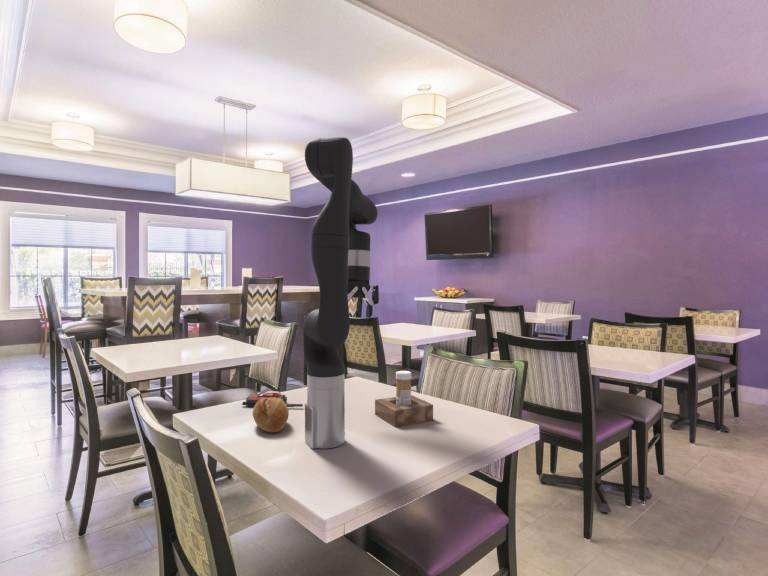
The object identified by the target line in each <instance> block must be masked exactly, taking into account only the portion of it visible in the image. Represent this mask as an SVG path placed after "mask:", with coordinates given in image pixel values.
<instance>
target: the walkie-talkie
mask: <svg viewBox="0 0 768 576" xmlns="http://www.w3.org/2000/svg"><path fill="white" fill-rule="evenodd" d="M266 397H268V399H269V398H272V397H274V398H280V399H282V400H283V401H284V402H285V404H286V406H287V408H295V407H303V405H304V404H303V403H287V402H288V397H287V396H286V395H285V394H282V393H281V392H280V391H278V390H277V391H276V390H275V391H270V390H269V391H266V392H264V393H261V392H260V391H258V392H257V393H256V394H255V393H254V394H253V393H251V394H250V395H248V396H247V397H246V398H245V401H243V402H241V404H242V406H245V407H246V406H247V408H254V406H255V404H256V403H257V402H258V401H259V400H260V399H263V398H266Z"/></svg>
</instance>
